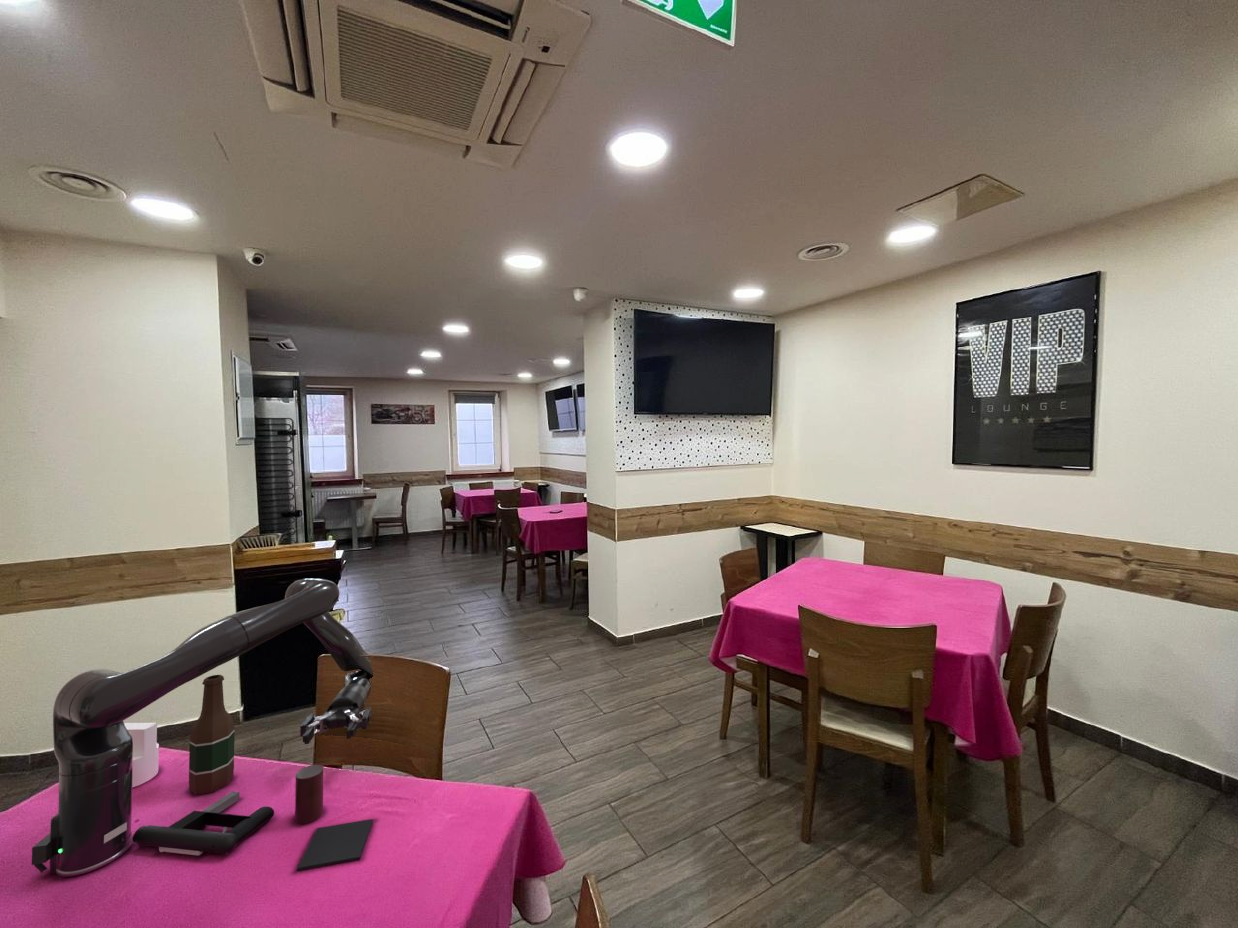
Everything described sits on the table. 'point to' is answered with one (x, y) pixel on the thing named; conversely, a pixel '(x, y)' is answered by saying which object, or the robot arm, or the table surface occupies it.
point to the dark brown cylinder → (309, 794)
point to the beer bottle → (211, 742)
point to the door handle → (195, 841)
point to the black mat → (336, 844)
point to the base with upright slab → (144, 751)
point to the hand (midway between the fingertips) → (327, 737)
